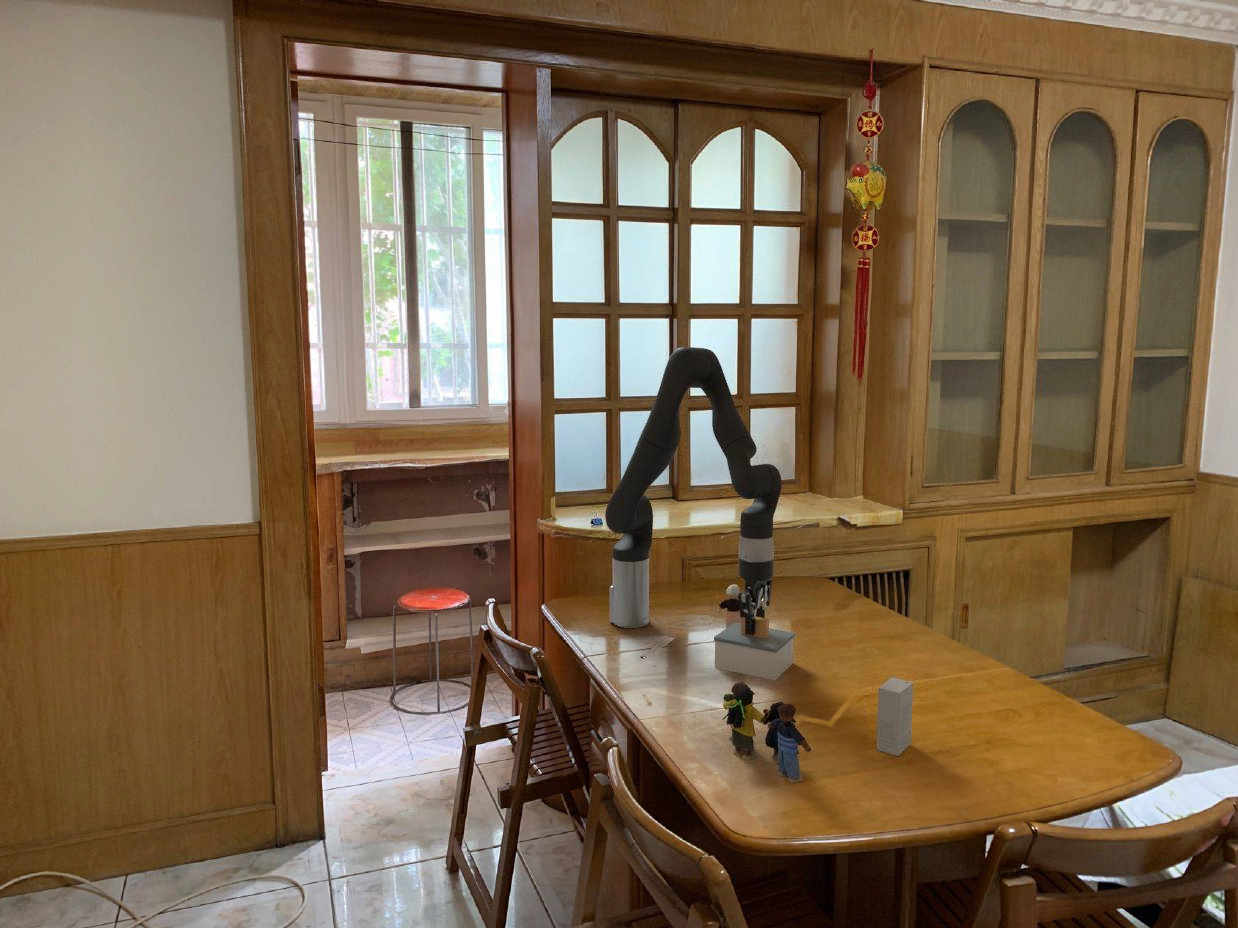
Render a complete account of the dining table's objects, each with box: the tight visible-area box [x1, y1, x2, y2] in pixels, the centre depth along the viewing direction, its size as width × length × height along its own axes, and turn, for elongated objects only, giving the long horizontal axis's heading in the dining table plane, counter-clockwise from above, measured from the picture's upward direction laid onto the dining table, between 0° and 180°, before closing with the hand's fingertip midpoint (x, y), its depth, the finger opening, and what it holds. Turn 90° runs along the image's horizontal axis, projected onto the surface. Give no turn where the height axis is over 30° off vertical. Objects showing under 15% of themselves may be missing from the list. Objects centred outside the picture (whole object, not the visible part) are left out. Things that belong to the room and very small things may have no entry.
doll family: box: [721, 682, 812, 784], centre depth 157 cm, size 23×9×13 cm, turn 45°
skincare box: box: [876, 677, 914, 757], centre depth 161 cm, size 6×4×12 cm
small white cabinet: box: [714, 637, 795, 681], centre depth 198 cm, size 14×11×7 cm
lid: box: [713, 617, 796, 653], centre depth 197 cm, size 14×11×6 cm
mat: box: [640, 636, 676, 659], centre depth 207 cm, size 16×14×1 cm
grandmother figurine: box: [716, 583, 741, 629], centre depth 219 cm, size 8×4×13 cm, turn 84°
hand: (754, 630), depth 197 cm, fingers open, 4 cm apart
